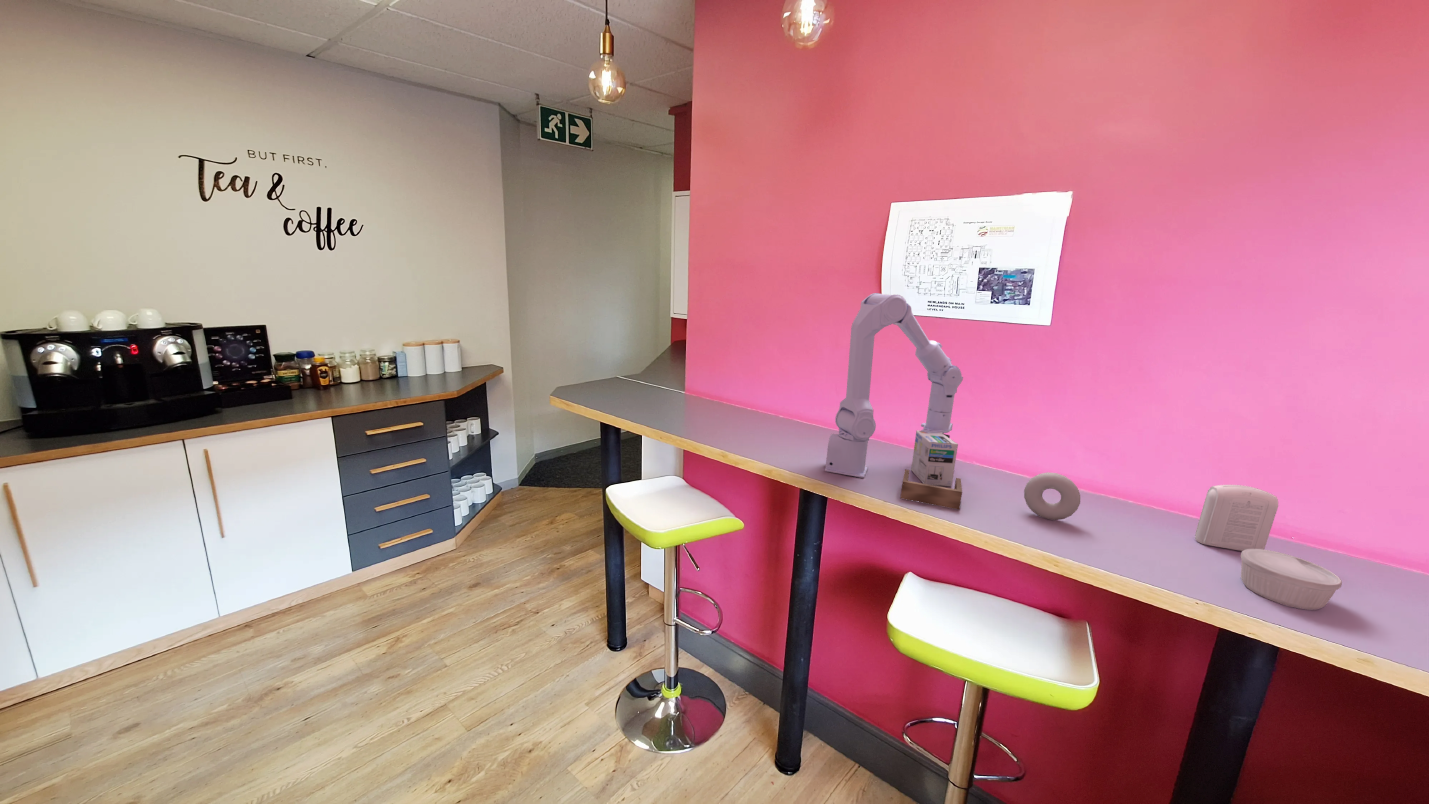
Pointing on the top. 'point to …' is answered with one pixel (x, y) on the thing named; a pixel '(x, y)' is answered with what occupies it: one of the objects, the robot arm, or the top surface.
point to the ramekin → (1288, 579)
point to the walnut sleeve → (932, 493)
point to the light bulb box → (934, 458)
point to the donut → (1048, 510)
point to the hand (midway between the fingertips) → (932, 460)
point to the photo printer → (1236, 517)
